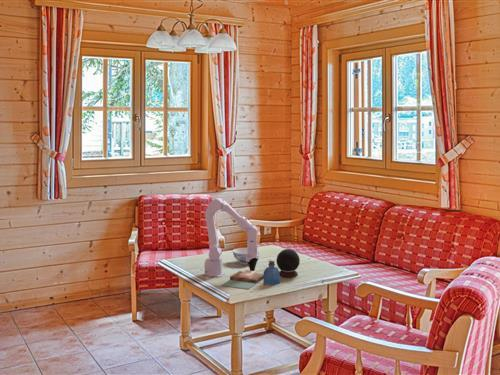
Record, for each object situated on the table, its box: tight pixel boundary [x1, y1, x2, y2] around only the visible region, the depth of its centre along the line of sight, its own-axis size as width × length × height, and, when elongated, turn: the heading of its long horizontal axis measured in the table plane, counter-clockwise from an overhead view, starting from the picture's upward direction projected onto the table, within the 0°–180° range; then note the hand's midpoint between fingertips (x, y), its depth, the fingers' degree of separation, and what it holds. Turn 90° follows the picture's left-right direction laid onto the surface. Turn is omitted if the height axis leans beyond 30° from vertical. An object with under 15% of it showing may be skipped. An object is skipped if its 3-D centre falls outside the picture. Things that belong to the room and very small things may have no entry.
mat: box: [220, 279, 257, 290], centre depth 297 cm, size 16×10×1 cm, turn 67°
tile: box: [239, 269, 257, 278], centre depth 308 cm, size 6×9×2 cm, turn 157°
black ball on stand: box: [275, 248, 301, 279], centre depth 315 cm, size 13×13×15 cm
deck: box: [229, 270, 264, 285], centre depth 308 cm, size 16×12×2 cm
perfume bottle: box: [262, 260, 281, 286], centre depth 300 cm, size 6×6×12 cm
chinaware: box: [232, 247, 248, 265], centre depth 341 cm, size 15×15×8 cm
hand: (252, 271), depth 314 cm, fingers closed
